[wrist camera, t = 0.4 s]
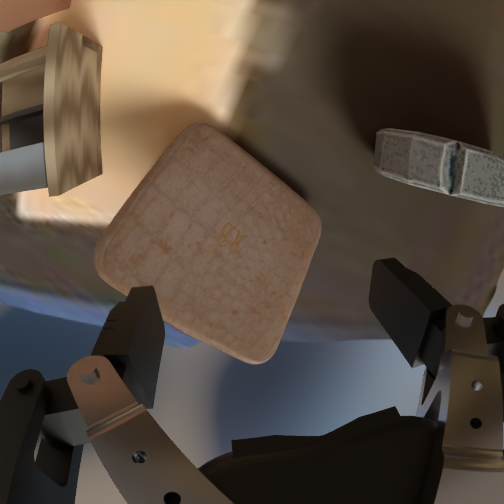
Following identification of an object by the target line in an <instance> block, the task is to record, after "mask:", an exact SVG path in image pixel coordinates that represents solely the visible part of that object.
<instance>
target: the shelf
mask: <svg viewBox="0 0 504 504" xmlns="http://www.w3.org/2000/svg"><path fill="white" fill-rule="evenodd" d="M101 61H102V47H101V46H100V45H98V44H96V43H95V42H93V41H91V40H90V39H88V38H87V37H85V36H83V35H82V34H80V33H78V32H77V31H75V30H73V29H71V28H70V27H68V26H66V25H65V24H63V23H61V22H59V23H56V24H53V25H50V29H49V36H48V44H47V46H44V47H42V48H39V49H36V50H33V51H31V52H28V53H25V54H23V55H20V56H18V57H15V58H13V59H11V60H8V61H6V62H4V63H2V64H0V82H3V86H2V117H0V125H2V149H3V152H2V153H0V195H4V194H10V193H16V192H22V191H28V190H35V189H41V188H47V187H48V191H49V197H50V196H59V195H61V194H63V193H65V192H67V191H69V190H71V189H72V188H74V187H76V186H78V185H80V184H82V183H84V182H87V181H89V180H91V179H93V178H95V177H97V176H99V175H101V174H102V159H101V138H100V81H101Z"/></svg>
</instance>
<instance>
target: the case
mask: <svg viewBox="0 0 504 504" xmlns="http://www.w3.org/2000/svg"><path fill="white" fill-rule="evenodd" d="M321 230H322V225H321V219H320V217H319V215H318V213H317V212H316V210H315V209H314V208H313V207H312V206H311V205H310V204H309V203H308V202H307V201H306V200H304V199H303V198H302V197H301V196H300V195H298V194H297V193H296V192H295V191H294V190H292V189H291V188H290V187H289V186H288V185H286V184H285V183H284V182H283V181H282V180H280V179H279V178H278V177H277V176H275V175H274V174H273V173H272V172H271V171H269V170H268V169H267V168H266V167H264V166H263V165H262V164H261V163H260V162H258V161H257V160H256V159H255V158H253V157H252V156H251V155H250V154H248V153H247V152H246V151H245V150H243V149H242V148H241V147H239V146H238V145H237V144H236V143H235V142H233V141H232V140H231V139H229V138H228V137H227V136H226V135H224V134H223V133H222V132H220V131H219V130H218V129H216V128H214V127H213V126H211V125H208V124H205V123H194V124H192V125H189V126H188V127H187V128H186V129H185V130H184V131H183V132H182V133H181V134H180V135H179V136H178V137H177V138H176V140H175V141H174V142H173V143H172V144H171V146H170V147H169V148H168V149H167V150H166V151H165V153H164V154H163V155H162V156H161V157H160V159H159V160H158V161H157V162H156V164H155V165H154V166H153V167H152V169H151V170H150V171H149V172H148V173H147V175H146V176H145V177H144V179H143V180H142V181H141V182H140V184H139V185H138V186H137V188H136V189H135V190H134V191H133V193H132V194H131V196H130V197H129V198H128V199H127V201H126V202H125V203H124V205H123V206H122V207H121V209H120V210H119V212H118V213H117V214H116V216H115V217H114V219H113V220H112V221H111V223H110V224H109V225H108V227H107V228H106V230H105V231H104V233H103V234H102V236H101V237H100V239H99V241H98V242H97V245H96V247H95V250H94V255H93V261H94V266H95V269H96V271H97V273H98V274H99V276H100V277H101V278H102V279H103V280H104V281H105V282H107V283H108V284H109V285H111V286H112V287H114V288H115V289H117V290H118V291H120V292H121V293H123V294H124V295H126V296H128V294H129V292H130V290H131V288H132V287H139V286H150V285H152V286H153V287H154V289H155V292H156V296H157V300H158V303H159V307H160V311H161V315H162V318H163V321H164V322H166V323H167V324H169V325H170V326H172V327H174V328H175V329H177V330H179V331H181V332H182V333H184V334H186V335H188V336H190V337H193V338H195V339H198V340H200V341H203V342H205V343H208V344H210V345H212V346H214V347H216V348H218V349H220V350H222V351H224V352H225V353H227V354H229V355H231V356H233V357H235V358H237V359H240V360H242V361H244V362H246V363H250V364H261V363H264V362H266V361H267V360H269V359H270V358H271V357H272V355H273V354H274V353H275V351H276V349H277V347H278V345H279V342H280V340H281V337H282V335H283V332H284V330H285V327H286V325H287V322H288V319H289V317H290V315H291V312H292V310H293V307H294V305H295V302H296V299H297V297H298V294H299V292H300V289H301V287H302V284H303V281H304V279H305V276H306V273H307V270H308V268H309V265H310V262H311V260H312V257H313V254H314V252H315V249H316V246H317V244H318V240H319V238H320V235H321Z"/></svg>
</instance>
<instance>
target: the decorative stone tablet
mask: <svg viewBox="0 0 504 504" xmlns="http://www.w3.org/2000/svg"><path fill="white" fill-rule="evenodd" d="M373 167H374V169H375V170H376V171H377V172H378V173H380V174H382V175H383V176H385V177H388V178H392V179H395V180H397V181H400V182H403V183H406V184H409V185H413V186H417V187H421V188H425V189H429V190H433V191H436V192H440V193H444V194H448V195H451V196H456V197H460V198H464V199H469V200H473V201H477V202H481V203H485V204H490V205H495V206H500V207H503V208H504V155H502V154H498V153H496V152H493V151H490V150H487V149H484V148H480V147H477V146H474V145H470V144H467V143H463V142H460V141H456V140H452V139H448V138H444V137H439V136H435V135H430V134H426V133H421V132H415V131H407V130H399V129H391V128H387V129H381V130H379V131H378V132H377V133H376V144H375V155H374V166H373Z"/></svg>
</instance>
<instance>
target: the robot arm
mask: <svg viewBox="0 0 504 504" xmlns="http://www.w3.org/2000/svg"><path fill="white" fill-rule="evenodd" d="M369 304H370V308H371V310H372V312H373V314H374V315H375V316H376V318H377V319H378V320H379V322H380V323H381V325H382V326H383V327H384V329H385V330H386V332H387V333H388V334H389V336H390V337H391V339H392V340H393V341H394V343H395V344H396V346H397V347H398V348H399V350H400V351H401V353H402V354H403V356H404V357H405V359H406V360H407V361H408V363H409V364H410V366H411V367H412V368H414V367H417V366H420V365H423V364H425V365H426V369H425V371H424V375H423V381H422V387H421V392H420V397H419V403H418V407H417V412H416V416H400V414H399V413H398V411H397V409H396V407H395V406H394V407H391V408H388V409H385V410H382V411H378V412H376V413H372V414H369V415H365V416H362V417H359V418H357V419H355V420H353V421H351V422H349V423H348V424H346V425H344V426H342V427H340V428H338V429H336V430H334V431H332V432H329V433H327V434H325V435H322V436H283V435H272V436H265V437H257V438H249V439H239V440H232V450H233V451H232V452H229V453H226V454H223V455H221V456H218V457H216V458H214V459H212V460H210V461H208V462H207V463H205V464H204V465H202V466H201V467H199V468H198V469H197V468H196V467H195V466H194V465H193V464H192V463H191V462H190V460H189V459H188V458H187V457H186V456H185V455H184V454H183V453H182V452H181V451H180V449H179V448H178V447H177V446H176V445H175V444H174V443H173V441H172V440H171V439H170V438H169V437H168V436H167V434H166V433H165V432H164V431H163V430H162V428H161V427H160V426H159V425H158V424H157V422H156V421H155V420H154V419H153V417H152V416H151V415H150V413H149V412H148V411H147V410H146V409H152V408H153V405H154V398H155V391H156V384H157V379H158V372H159V367H160V361H161V355H162V350H163V344H164V339H165V328H164V322H163V318H162V315H161V311H160V307H159V303H158V300H157V296H156V292H155V289H154V287H153V286H152V285H150V286H139V287H132V288H131V290H130V292H129V294H128V296H127V299H126V301H125V302H119V303H118V304H117V305H116V306H115V307H114V308H113V309H112V310H111V311H110V313H109V315H108V317H107V319H106V322H105V324H104V326H103V330H101V332H100V335H99V337H98V339H97V341H96V344H95V346H94V348H93V351H92V353H91V356H88V357H85V358H82V359H80V360H78V361H77V362H76V363H75V364H73V365H72V367H71V368H70V370H69V371H68V374H67V377H64V378H60V379H56V380H51V381H45V379H44V377H43V376H42V374H41V373H40V372H39V371H37V370H34V369H28V370H24V371H22V372H20V373H18V374H17V375H15V376H14V377H13V378H12V379H11V381H10V382H9V384H8V386H7V388H6V390H5V392H4V394H3V397H2V399H1V401H0V504H75V496H76V488H77V481H78V475H79V468H80V462H81V456H82V451H83V445H84V444H86V443H91V444H92V445H93V447H94V449H95V451H96V453H97V455H98V457H99V458H100V460H101V462H102V464H103V465H104V467H105V469H106V470H107V472H108V474H109V475H110V477H111V479H112V481H113V482H114V484H115V485H116V487H117V488H118V490H119V492H120V493H121V494H122V496H123V498H124V499H125V501H126V502H127V503H128V504H504V450H503V449H502V448H503V422H504V304H502V305H501V306H500V307H499V309H498V311H497V314H496V317H493V318H492V317H491V318H483V317H482V315H481V314H480V313H479V312H478V311H477V310H475V309H474V308H472V307H469V306H466V305H459V304H458V305H451V304H450V303H449V302H448V301H447V300H446V299H445V298H444V297H443V296H442V295H441V294H440V293H439V292H437V291H436V290H435V289H434V288H432V286H431V285H430V284H429V283H428V282H426V281H425V280H424V279H423V278H422V277H421V276H420V275H419V274H417V273H415V272H413V271H411V270H409V269H407V268H406V267H405V266H404V265H402V264H401V263H400V262H399V261H398V260H397V259H395V258H387V259H380V260H376V261H375V262H374V264H373V270H372V278H371V285H370V292H369ZM39 435H40V436H41V437H42V439H41V443H40V446H39V450H38V454H37V457H36V462H35V460H34V450H35V447H36V443H37V440H38V436H39Z"/></svg>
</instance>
